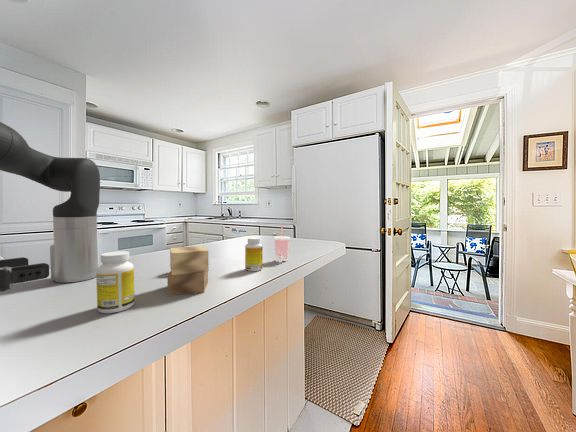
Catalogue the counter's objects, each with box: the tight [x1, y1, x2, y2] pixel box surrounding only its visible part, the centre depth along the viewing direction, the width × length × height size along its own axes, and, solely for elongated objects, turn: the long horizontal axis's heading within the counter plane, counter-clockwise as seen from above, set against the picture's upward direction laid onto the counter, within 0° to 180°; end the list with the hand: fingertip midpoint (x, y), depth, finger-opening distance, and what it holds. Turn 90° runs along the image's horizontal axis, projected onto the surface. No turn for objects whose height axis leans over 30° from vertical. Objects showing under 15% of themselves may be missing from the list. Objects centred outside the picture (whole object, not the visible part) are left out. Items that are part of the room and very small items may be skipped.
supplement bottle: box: [244, 237, 264, 272], centre depth 80 cm, size 6×6×10 cm
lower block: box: [166, 270, 209, 296], centre depth 62 cm, size 8×8×5 cm
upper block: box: [169, 245, 209, 275], centre depth 62 cm, size 8×8×5 cm
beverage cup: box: [273, 223, 291, 262], centre depth 93 cm, size 6×6×14 cm
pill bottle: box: [95, 250, 136, 314], centre depth 50 cm, size 6×6×11 cm
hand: (37, 266), depth 39 cm, fingers open, 8 cm apart
